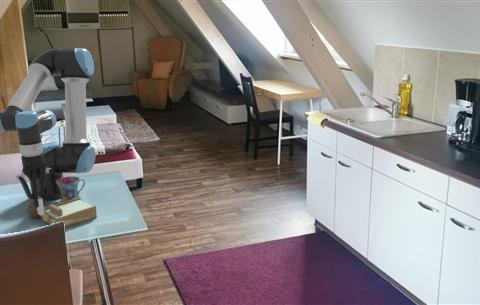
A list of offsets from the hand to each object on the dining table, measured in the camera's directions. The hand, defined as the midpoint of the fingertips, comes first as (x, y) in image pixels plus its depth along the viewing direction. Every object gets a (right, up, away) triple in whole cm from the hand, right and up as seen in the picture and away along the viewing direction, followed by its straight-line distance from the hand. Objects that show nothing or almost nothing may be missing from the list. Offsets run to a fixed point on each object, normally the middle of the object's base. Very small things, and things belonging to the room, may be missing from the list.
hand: (41, 214), depth 180 cm
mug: (+3, +1, +25) cm, 26 cm away
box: (+7, -3, +9) cm, 12 cm away
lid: (+8, 0, +8) cm, 11 cm away
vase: (-6, -3, +12) cm, 14 cm away
